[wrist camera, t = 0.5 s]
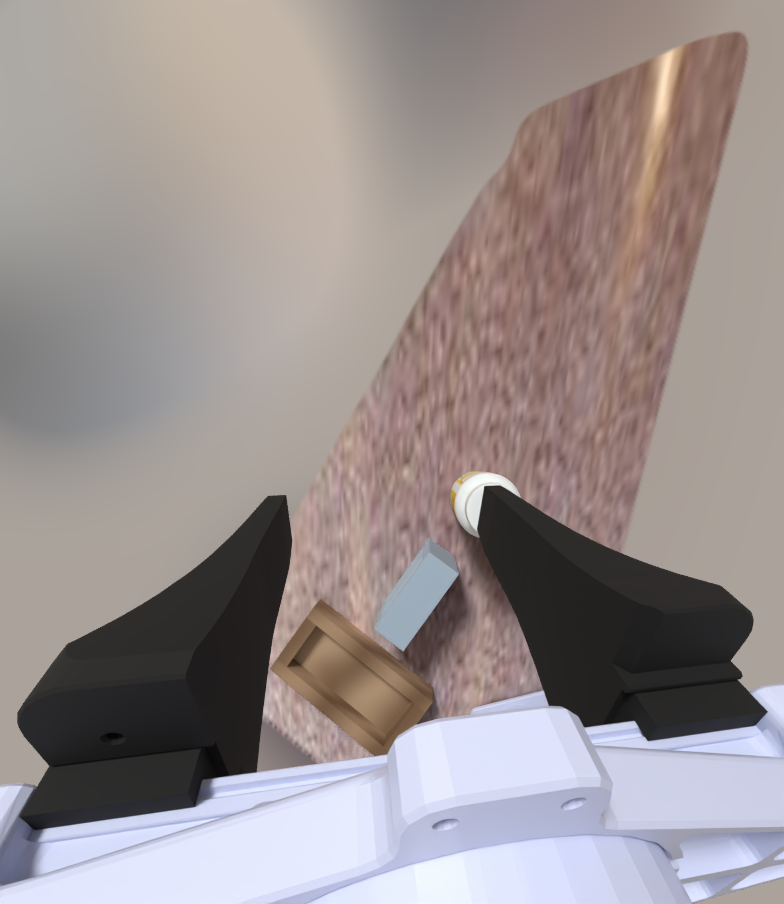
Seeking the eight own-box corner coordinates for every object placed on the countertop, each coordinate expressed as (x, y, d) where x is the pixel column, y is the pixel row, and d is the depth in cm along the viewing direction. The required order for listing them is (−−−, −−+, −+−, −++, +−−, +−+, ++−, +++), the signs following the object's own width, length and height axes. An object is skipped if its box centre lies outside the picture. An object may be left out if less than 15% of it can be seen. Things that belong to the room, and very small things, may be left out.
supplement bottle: (466, 461, 35) (481, 459, 26) (514, 488, 35) (547, 497, 25) (439, 507, 36) (443, 522, 26) (486, 535, 35) (508, 562, 25)
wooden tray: (432, 687, 35) (432, 702, 33) (389, 747, 35) (386, 765, 33) (320, 599, 36) (313, 607, 34) (279, 656, 37) (269, 669, 34)
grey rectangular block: (428, 537, 36) (428, 551, 30) (454, 556, 35) (459, 574, 29) (382, 601, 36) (373, 628, 30) (407, 620, 36) (403, 652, 30)
